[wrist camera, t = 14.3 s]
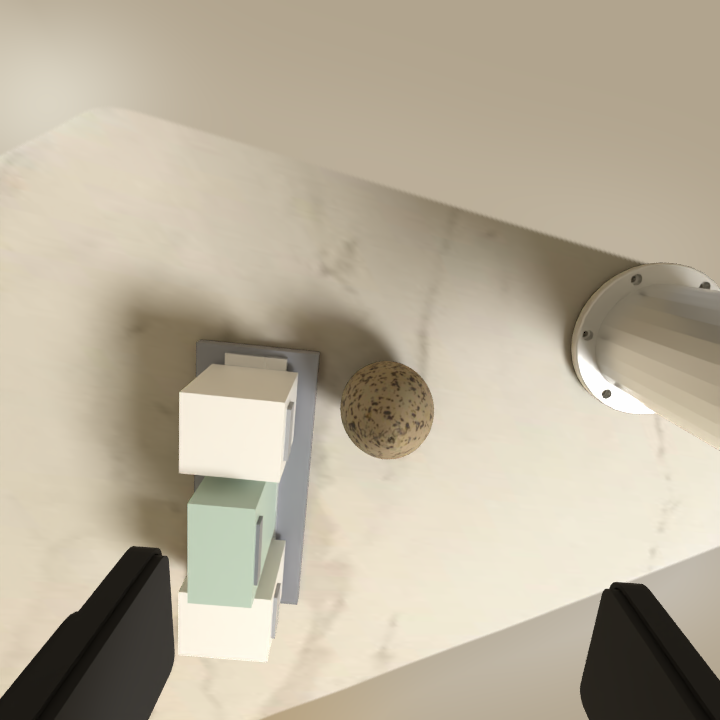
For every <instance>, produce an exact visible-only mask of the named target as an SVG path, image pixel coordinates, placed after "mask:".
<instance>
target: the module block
mask: <svg viewBox="0 0 720 720" xmlns="http://www.w3.org/2000/svg"><path fill="white" fill-rule="evenodd" d="M276 488H277V482H266V481H256V480H245V479H235V478H224V477H214V476H205V477H204V479H203V480H202V482H201V483H200V485H199V486H198V488H197V490H196V491H195V493H194V494H193V496H192V497H191V499H190V500H189V502H188V504H187V577H188V603H192V604H204V605H217V606H230V607H243V608H252V604H253V601H254V597H255V594H256V590H257V587H258V583H259V580H260V577H261V573H262V570H263V566H264V563H265V559H266V556H267V552H268V549H269V546H270V542H271V539H272V535H273V532H274V524H275V506H276Z"/></svg>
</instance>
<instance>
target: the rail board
mask: <svg viewBox="0 0 720 720" xmlns="http://www.w3.org/2000/svg"><path fill="white" fill-rule="evenodd" d="M319 356H320V352H315V351H306V350H296V349H287V348H277V347H267V346H258V345H248V344H238V343H229V342H219V341H209V340H199V341H198V342H196V378H195V379H194V380H193V381H192V382H191V383H189V384H188V385H187V386H186V387H185V388H184V389H182V390H181V391H180V392H179V473H182V474H193V475H195V481H194V493H195V491H196V490H197V488H198V486H199V485H200V483H201V482H202V480H203V479H204V477H205V476H214V477H224V478H235V479H245V480H256V481H266V482H277V488H276V506H275V524H274V532H273V535H272V539H271V542H270V546H269V549H268V552H267V556H266V559H265V563H264V566H263V570H262V573H261V577H260V580H259V583H258V587H257V590H256V594H255V597H254V601H253V604H252V608H243V607H230V606H217V605H204V604H192V603H188V577H187V576H186V578H185V580H184V582H183V584H182V586H181V588H180V590H179V592H178V655H184V656H196V657H208V658H220V659H233V660H245V661H257V662H267V660H268V656H269V651H270V646H271V642H272V638H274V639H275V634H276V629H277V624H278V614H279V605H280V603H284V604H296V605H297V603H298V597H299V585H300V574H301V562H302V551H303V539H304V528H305V517H306V505H307V494H308V482H309V471H310V459H311V448H312V436H313V425H314V414H315V402H316V391H317V379H318V368H319Z"/></svg>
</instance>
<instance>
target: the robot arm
mask: <svg viewBox="0 0 720 720" xmlns="http://www.w3.org/2000/svg"><path fill="white" fill-rule="evenodd" d="M632 277H633V279H632V281H631V278H632ZM584 332H585V335H583V333H584ZM582 335H583V336H582ZM571 353H572V362H573V366H574V369H575V372H576V375H577V377H578V378H579V380H580V382H581V383H582V385H583V387H584V388H585V389H586V390H587V391H588V392H589V393H590V394H591V395H592V396H593V397H594V398H596V399H597V400H599V401H600V402H601V403H603V404H605V405H607V406H609V407H610V408H612V409H615V410H618V411H621V412H625V413H631V414H651V413H657V414H658V415H660V416H662V417H663V418H665V419H667V420H668V421H670V422H672V423H673V424H675V425H677V426H679V427H680V428H682V429H684V430H685V431H687V432H689V433H690V434H692V435H694V436H695V437H697V438H699V439H700V440H702V441H704V442H706V443H707V444H709V445H711V446H712V447H714V448H716V449H717V450H719V451H720V288H719V287H718V285H717V284H716V283H715V282H714V281H713V280H712V279H711V278H709V277H708V276H707V275H705V274H704V273H702V272H700V271H698V270H696V269H694V268H692V267H689V266H684V265H679V264H673V263H651V264H644V265H640V266H637V267H633V268H630V269H628V270H626V271H624V272H622V273H619V274H617V275H616V276H614V277H613V278H611V279H610V280H609V281H607V282H606V283H604V284H603V285H602V286H601V287H600V288H599V289H598V290H597V291H596V292H595V293H594V294H593V295H592V296H591V298H590V299H589V300H588V302H587V303H586V304H585V306H584V307H583V309H582V311H581V313H580V315H579V317H578V319H577V321H576V325H575V328H574V332H573V335H572V345H571ZM602 391H603V392H602ZM174 654H175V652H174V636H173V619H172V603H171V587H170V571H169V559H168V557H167V556H162V553H161V550H160V549H159V548H150V547H136V546H133V547H130V548H129V549H128V550H127V551H126V552H125V554H124V555H123V556H122V557H121V559H120V560H119V561H118V562H117V564H116V565H115V566H114V567H113V569H112V570H111V571H110V572H109V574H108V575H107V576H106V577H105V579H104V580H103V581H102V583H101V584H100V585H99V586H98V588H97V589H96V590H95V591H94V593H93V594H92V595H91V596H90V598H89V599H88V600H87V601H86V603H85V604H84V605H83V606H82V608H81V609H80V610H79V611H78V612H75V613H73V614H71V615H70V616H69V617H68V618H67V619H66V620H65V621H64V622H63V623H62V624H61V625H60V626H59V628H58V629H57V630H56V631H55V633H54V634H53V635H52V636H51V637H50V639H49V640H48V641H47V642H46V644H45V645H44V646H43V647H42V648H41V650H40V651H39V652H38V653H37V655H36V656H35V657H34V658H33V659H32V661H31V662H30V663H29V664H28V666H27V667H26V668H25V669H24V670H23V672H22V673H21V674H20V675H19V677H18V678H17V679H16V680H15V681H14V683H13V684H12V685H11V686H10V688H9V689H8V690H7V691H6V692H5V694H4V695H3V696H2V697H1V699H0V720H148V719H149V717H150V715H151V713H152V711H153V709H154V706H155V704H156V702H157V700H158V698H159V696H160V694H161V692H162V690H163V687H164V685H165V683H166V681H167V679H168V677H169V675H170V672H171V670H172V666H173V662H174ZM580 694H581V700H582V704H583V707H584V709H585V712H586V714H587V716H588V718H589V720H720V680H719V679H718V678H717V677H716V675H715V674H714V673H713V671H712V670H711V669H710V667H709V666H708V665H707V664H706V662H705V661H704V660H703V658H702V657H701V656H700V654H699V653H698V652H697V651H696V649H695V648H694V647H693V645H692V644H691V643H690V641H689V640H688V639H687V638H686V636H685V635H684V634H683V633H682V631H681V630H680V629H679V627H678V626H677V625H676V623H675V622H674V621H673V620H672V618H671V617H670V616H669V614H668V613H667V612H666V610H665V609H664V608H663V607H662V605H661V604H660V603H659V601H658V600H657V599H656V598H655V596H654V595H653V594H652V592H651V591H650V590H649V589H648V588H647V587H646V586H645V585H643V584H634V583H622V582H614V583H612V584H611V586H610V589H605V590H604V591H603V593H602V596H601V601H600V605H599V609H598V614H597V617H596V622H595V626H594V630H593V634H592V638H591V643H590V647H589V651H588V656H587V660H586V664H585V668H584V672H583V676H582V681H581V686H580Z"/></svg>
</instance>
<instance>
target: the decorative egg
mask: <svg viewBox="0 0 720 720" xmlns="http://www.w3.org/2000/svg"><path fill="white" fill-rule="evenodd" d="M340 410H341V418H342V423H343V426H344V428H345V431H346V433H347V434H348V436H349V438H350V439H351V440H352V442H353V443H354V444H355V445H356V446H357V447H358V448H359V449H361V450H362V451H364V452H365V453H367V454H369V455H371V456H373V457H376V458H381V459H396V458H400V457H403V456H406V455H408V454H410V453H411V452H413V451H415V450H416V449H417V448H418V447H419V446H420V445H421V444H422V443H423V441H424V440H425V439H426V437H427V435H428V434H429V432H430V429H431V426H432V423H433V417H434V405H433V399H432V395H431V392H430V390H429V388H428V386H427V384H426V383H425V381H424V380H423V379H422V378H421V376H420V375H419V374H417V373H416V372H415V371H414V370H412V369H411V368H409V367H407V366H405V365H403V364H400V363H397V362H391V361H381V362H375V363H372V364H369V365H367V366H365V367H363V368H362V369H360V370H359V371H358V372H356V373H355V374H354V375H353V376H352V378H351V379H350V380H349V382H348V383H347V385H346V387H345V389H344V392H343V395H342V399H341V408H340Z"/></svg>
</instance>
